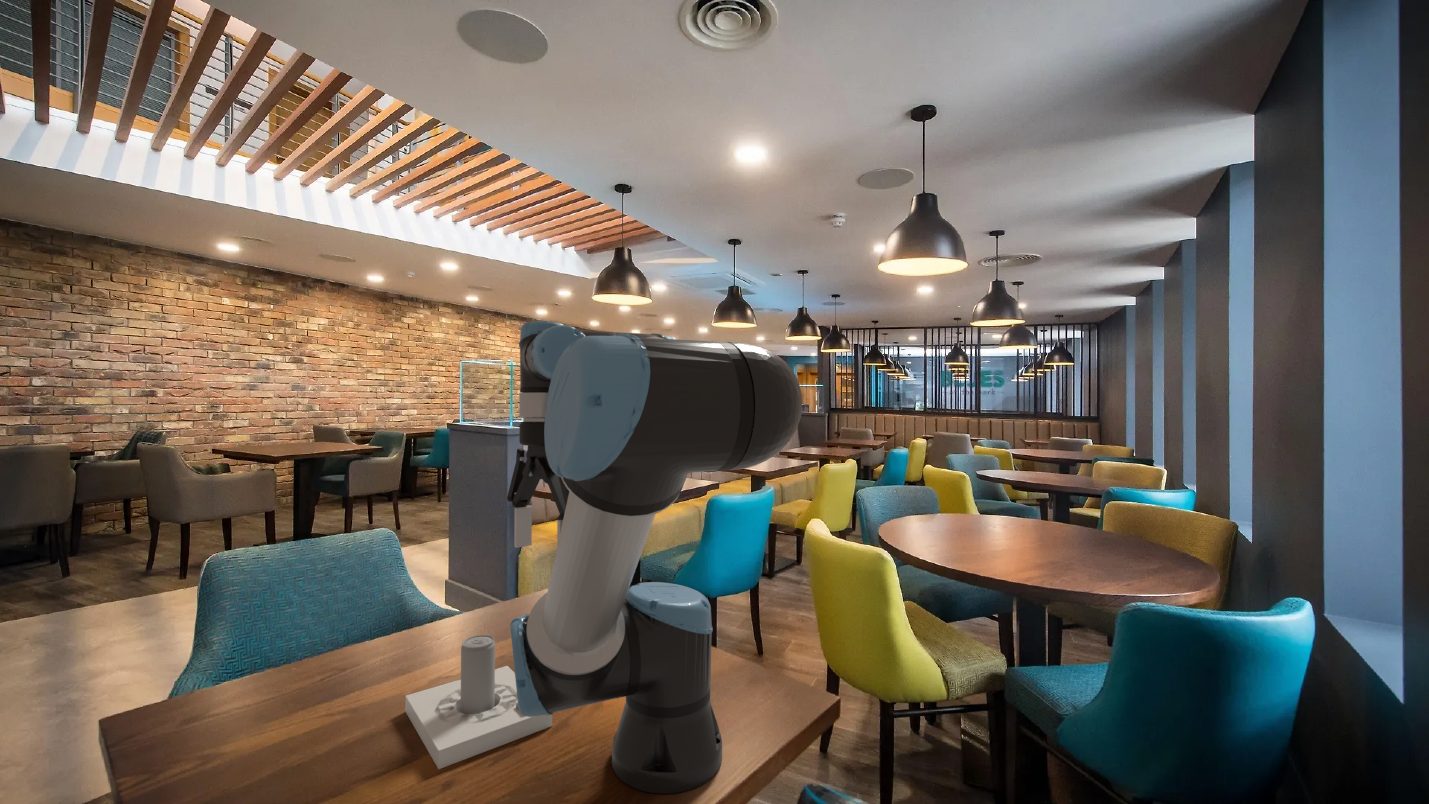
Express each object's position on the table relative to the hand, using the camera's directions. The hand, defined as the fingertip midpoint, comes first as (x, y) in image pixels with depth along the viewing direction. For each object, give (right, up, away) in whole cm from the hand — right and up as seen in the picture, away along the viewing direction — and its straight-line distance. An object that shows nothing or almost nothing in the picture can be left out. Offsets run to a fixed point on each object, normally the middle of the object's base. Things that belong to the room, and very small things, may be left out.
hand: (543, 553), depth 93 cm
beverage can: (-9, -25, -4) cm, 26 cm away
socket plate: (-9, -24, -4) cm, 26 cm away
